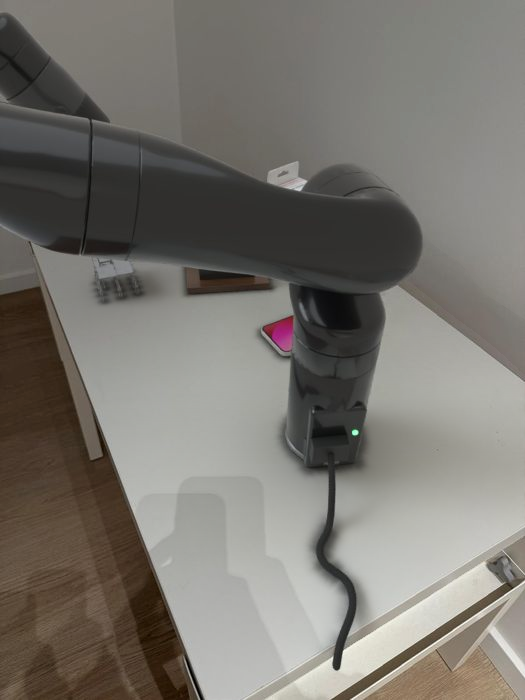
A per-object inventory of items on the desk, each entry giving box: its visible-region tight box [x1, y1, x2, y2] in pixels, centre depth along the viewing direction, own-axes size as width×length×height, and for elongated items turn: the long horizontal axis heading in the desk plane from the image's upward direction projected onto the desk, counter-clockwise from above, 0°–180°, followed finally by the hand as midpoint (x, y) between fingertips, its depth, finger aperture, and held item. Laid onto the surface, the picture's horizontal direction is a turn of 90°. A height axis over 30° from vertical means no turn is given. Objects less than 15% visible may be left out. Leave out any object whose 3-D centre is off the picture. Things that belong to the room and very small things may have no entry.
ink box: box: [266, 160, 308, 191], centre depth 96 cm, size 8×5×15 cm, turn 134°
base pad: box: [185, 267, 270, 295], centre depth 92 cm, size 14×14×4 cm
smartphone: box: [261, 314, 294, 357], centre depth 80 cm, size 7×1×15 cm
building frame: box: [91, 258, 140, 302], centre depth 87 cm, size 6×8×6 cm
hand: (150, 206), depth 72 cm, fingers open, 8 cm apart
